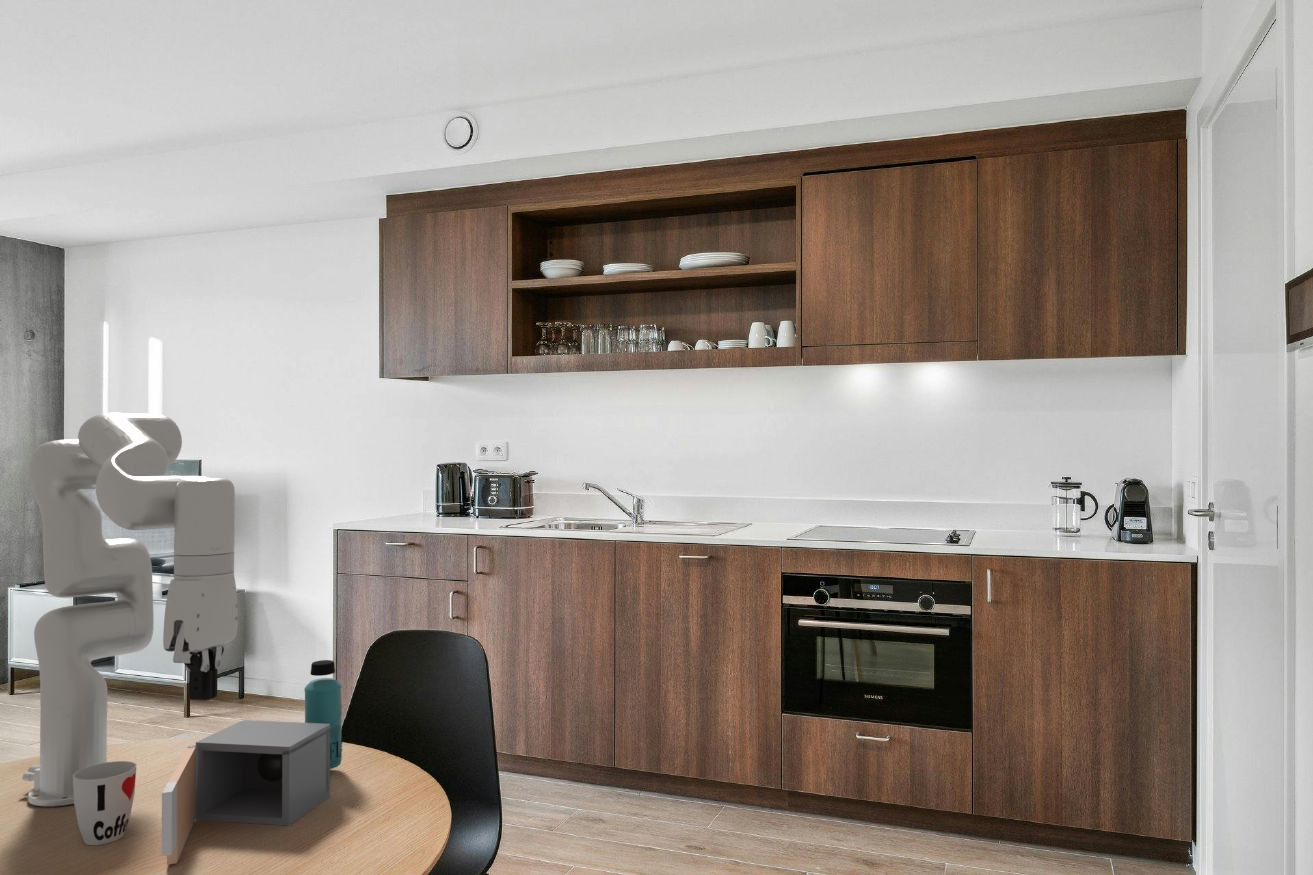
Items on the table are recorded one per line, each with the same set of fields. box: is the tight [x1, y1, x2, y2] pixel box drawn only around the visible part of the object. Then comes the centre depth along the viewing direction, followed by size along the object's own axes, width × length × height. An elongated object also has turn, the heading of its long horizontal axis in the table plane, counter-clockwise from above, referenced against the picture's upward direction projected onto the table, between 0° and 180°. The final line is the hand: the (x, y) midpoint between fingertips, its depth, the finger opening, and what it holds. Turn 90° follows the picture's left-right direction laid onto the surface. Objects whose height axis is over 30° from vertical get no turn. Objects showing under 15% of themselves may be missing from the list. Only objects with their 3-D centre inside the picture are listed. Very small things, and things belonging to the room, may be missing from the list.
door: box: [160, 745, 196, 866], centre depth 128 cm, size 21×1×11 cm, turn 19°
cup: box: [73, 760, 137, 846], centre depth 132 cm, size 8×8×10 cm
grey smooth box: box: [195, 719, 331, 826], centre depth 143 cm, size 16×12×12 cm
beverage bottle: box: [304, 659, 343, 770], centre depth 159 cm, size 6×7×20 cm
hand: (203, 697), depth 123 cm, fingers closed
